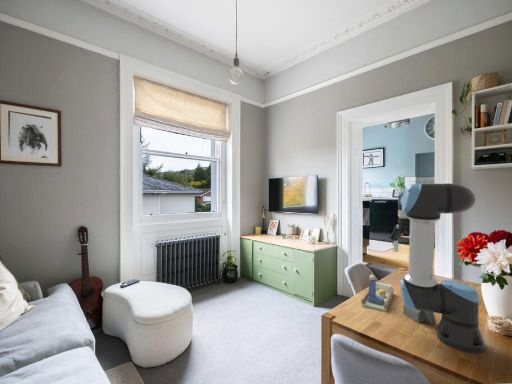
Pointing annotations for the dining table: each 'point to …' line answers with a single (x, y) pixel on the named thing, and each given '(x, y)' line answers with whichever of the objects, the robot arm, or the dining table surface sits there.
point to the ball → (382, 292)
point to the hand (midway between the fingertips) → (405, 254)
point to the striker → (374, 291)
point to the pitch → (386, 298)
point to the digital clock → (419, 315)
